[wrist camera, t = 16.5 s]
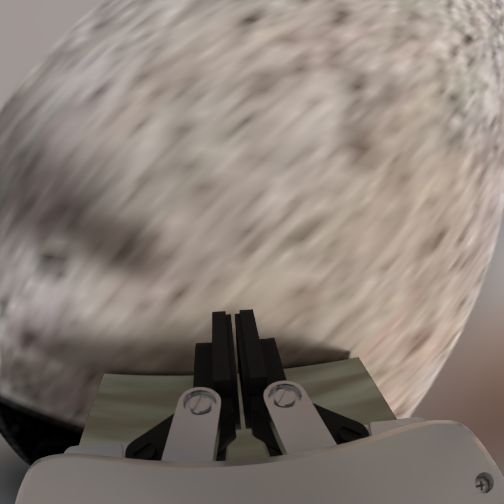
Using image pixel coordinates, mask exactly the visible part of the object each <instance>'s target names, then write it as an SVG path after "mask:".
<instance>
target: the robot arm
mask: <svg viewBox="0 0 504 504" xmlns="http://www.w3.org/2000/svg"><path fill="white" fill-rule="evenodd" d="M235 326H236V342H237V357H238V369H239V378H240V386H241V395H242V403H243V411H244V419H245V427H246V429H251V431H252V436H254V437H255V438H257V439H259V440H260V441H262V442H263V447H264V449H265V452H266V454H267V457H266V458H256V459H246V460H232V461H227V459H228V450H229V449H228V445H229V444H230V443H231V442H233V441H234V440H235V439H236V430H239V429H241V420H240V408H239V396H238V383H237V373H236V363H235V353H234V343H233V333H232V323H231V314H228V315H226V313H225V311H222V312H212V343H196V348H195V363H194V379H193V388H192V389H189V390H187V391H185V392H184V393H183V394H182V395H181V396H180V398H179V400H178V404H177V407H176V410H175V413H174V414H172V415H171V416H169V417H168V418H167V419H165V420H164V421H162V422H161V423H159V424H158V425H156V426H155V427H153V428H152V429H150V430H149V431H147V432H146V433H144V434H143V435H141V436H140V437H138V438H136V439H135V440H133V441H132V442H131V443H130V444H129V445H126V446H122V444H121V443H120V444H107V445H86V446H72V447H70V448H68V449H67V450H66V451H65V452H64V453H63V454H56V455H50V456H46V457H43V458H41V459H39V460H37V461H36V462H34V463H33V464H32V465H31V467H30V468H29V470H28V471H27V473H26V475H25V477H24V479H23V481H22V484H21V487H20V489H19V492H18V495H17V499H16V502H15V504H504V478H503V476H502V474H501V473H500V471H499V469H498V467H497V465H496V464H495V462H494V461H493V459H492V458H491V456H490V455H489V453H488V452H487V450H486V449H485V448H484V446H483V445H482V443H481V442H480V441H479V440H478V439H477V437H476V436H475V435H474V434H473V433H472V432H471V431H470V430H469V429H468V428H467V427H465V426H464V425H462V424H460V423H458V422H455V421H448V420H439V421H426V420H425V419H422V418H419V417H411V418H404V419H396V420H388V421H378V422H370V423H369V425H363V424H361V423H359V422H358V421H355V420H352V419H350V418H347V417H345V416H342V415H340V414H338V413H335V412H333V411H330V410H328V409H326V408H323V407H321V406H319V405H317V404H314V403H312V402H311V400H310V398H309V396H308V395H307V393H306V391H305V390H304V388H303V387H302V386H301V385H299V384H297V383H295V382H292V381H287V380H286V376H285V373H284V370H283V366H282V363H281V359H280V356H279V353H278V349H277V346H276V342H275V339H274V338H268V339H259V336H258V331H257V327H256V322H255V317H254V313H253V309H251V310H240V314H235Z"/></svg>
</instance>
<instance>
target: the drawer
mask: <svg viewBox="0 0 504 504" xmlns="http://www.w3.org/2000/svg"><path fill="white" fill-rule="evenodd" d="M283 370H284V373H285V376H286V380H287V381H292V382H295V383H297V384H299V385H301V386H302V387H303V388H304V390H305V391H306V393H307V395H308V396H309V398H310V400H311V402H312V403H314V404H317V405H319V406H321V407H323V408H326V409H328V410H330V411H333V412H335V413H338V414H340V415H342V416H345V417H347V418H350V419H352V420H355V421H358V422H359V423H361V424H363V425H369V423H370V422H378V421H388V420H396V417H395V415H394V414H393V412H392V410H391V409H390V407H389V406H388V404H387V402H386V401H385V399H384V397H383V396H382V394H381V392H380V391H379V389H378V388H377V386H376V384H375V383H374V381H373V379H372V378H371V376H370V375H369V373H368V371H367V370H366V368H365V367H364V365H363V363H362V362H361V360H360V359H359V357H357V358H352V359H346V360H341V361H335V362H329V363H323V364H317V365H310V366H303V367H296V368H288V369H283ZM193 379H194V375H193V376H146V375H121V374H105V373H104V375H103V378H102V380H101V383H100V386H99V388H98V391H97V394H96V396H95V399H94V402H93V405H92V408H91V410H90V413H89V416H88V419H87V422H86V425H85V428H84V431H83V434H82V437H81V440H80V444H79V446H86V445H107V444H120V443H121V444H122V446H126V445H129V444H130V443H131V442H132V441H133V440H135V439H136V438H138V437H140V436H141V435H143V434H144V433H146V432H147V431H149V430H150V429H152V428H153V427H155V426H156V425H158V424H159V423H161V422H162V421H164V420H165V419H167V418H168V417H169V416H171V415H172V414H174V413H175V410H176V407H177V404H178V400H179V398H180V396H181V395H182V394H183V393H184V392H185V391H187V390H189V389H192V388H193ZM237 383H238V396H239V408H240V420H241V429H239V430H236V439H235V440H234V441H233V442H231V443H230V444H229V445H228V449H229V450H228V459H227V461H232V460H246V459H256V458H266V457H267V454H266V452H265V449H264V447H263V442H262V441H260V440H259V439H257V438H255V437H254V436H252V431H251V429H246V427H245V419H244V411H243V403H242V395H241V386H240V378H239V373H237Z"/></svg>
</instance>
